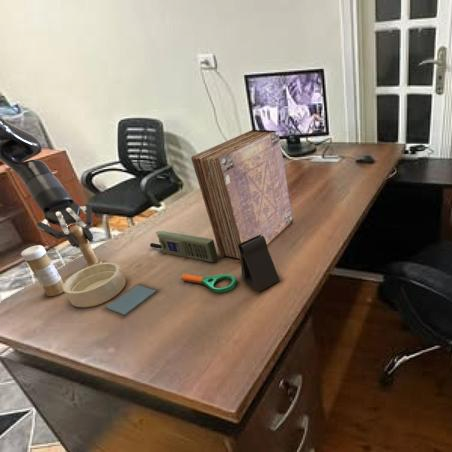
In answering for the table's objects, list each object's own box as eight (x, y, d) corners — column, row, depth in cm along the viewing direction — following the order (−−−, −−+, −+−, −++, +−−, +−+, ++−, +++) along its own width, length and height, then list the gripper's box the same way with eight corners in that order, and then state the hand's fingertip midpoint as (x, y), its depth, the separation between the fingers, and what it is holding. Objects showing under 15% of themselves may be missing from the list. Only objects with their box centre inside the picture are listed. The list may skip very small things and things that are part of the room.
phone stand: (280, 281, 88) (271, 241, 82) (259, 293, 85) (248, 252, 79) (262, 267, 94) (253, 228, 88) (242, 277, 91) (231, 238, 85)
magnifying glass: (241, 279, 90) (239, 274, 89) (228, 294, 85) (226, 289, 85) (192, 273, 95) (190, 268, 94) (177, 287, 90) (175, 282, 89)
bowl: (91, 314, 84) (82, 298, 81) (61, 301, 89) (52, 286, 87) (136, 282, 93) (129, 267, 91) (107, 273, 99) (100, 258, 96)
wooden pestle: (93, 272, 100) (70, 230, 93) (84, 269, 101) (62, 228, 95) (106, 264, 103) (85, 223, 96) (98, 262, 104) (76, 221, 98)
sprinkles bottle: (49, 289, 94) (23, 248, 88) (68, 283, 96) (44, 242, 89) (45, 299, 91) (17, 256, 84) (65, 293, 92) (40, 250, 86)
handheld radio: (212, 264, 98) (148, 251, 107) (220, 258, 100) (156, 246, 110) (206, 243, 95) (141, 232, 104) (214, 237, 97) (150, 227, 107)
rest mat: (125, 315, 82) (124, 314, 82) (106, 308, 85) (105, 307, 85) (156, 291, 89) (156, 290, 89) (138, 285, 92) (137, 284, 92)
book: (246, 263, 96) (218, 159, 82) (220, 257, 100) (189, 157, 85) (293, 220, 116) (278, 130, 101) (270, 216, 120) (252, 129, 105)
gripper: (16, 197, 90) (53, 250, 89) (76, 178, 99) (111, 226, 98) (22, 210, 96) (57, 261, 95) (78, 192, 105) (111, 237, 104)
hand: (84, 243), depth 96 cm, fingers closed on wooden pestle, 2 cm apart
